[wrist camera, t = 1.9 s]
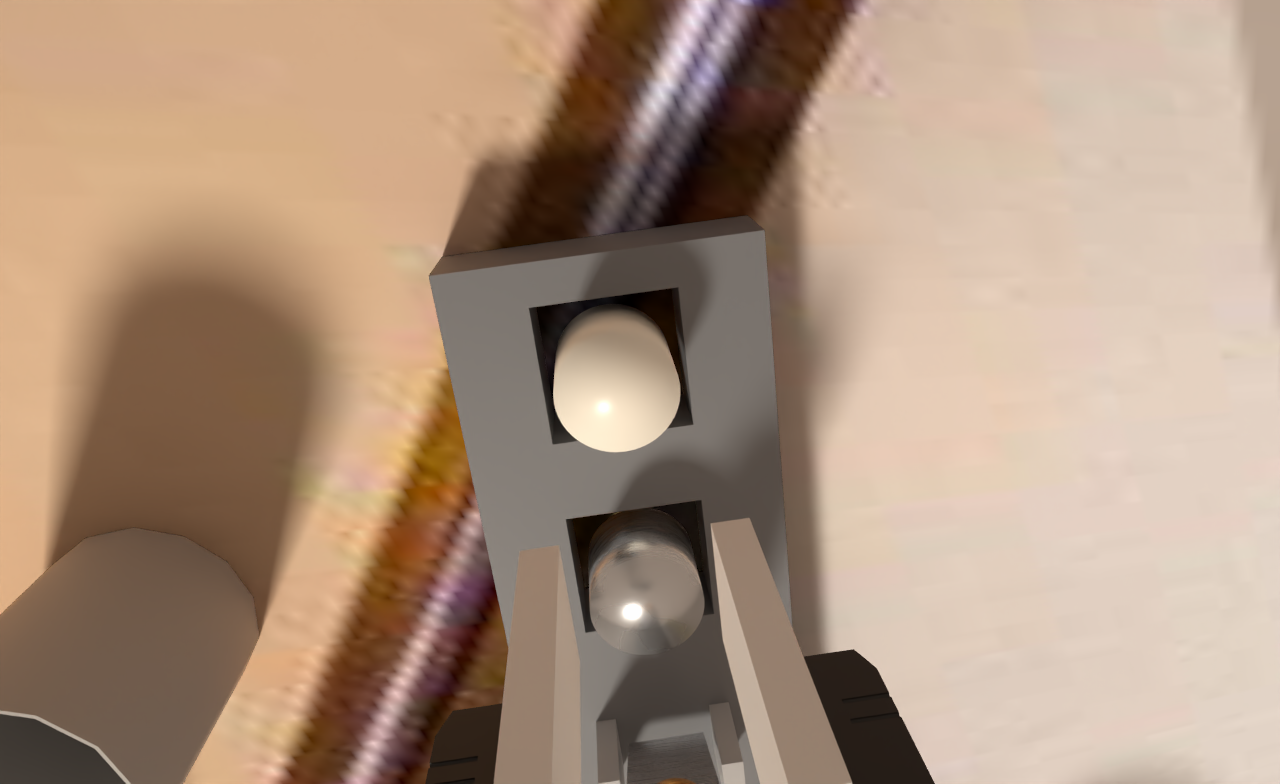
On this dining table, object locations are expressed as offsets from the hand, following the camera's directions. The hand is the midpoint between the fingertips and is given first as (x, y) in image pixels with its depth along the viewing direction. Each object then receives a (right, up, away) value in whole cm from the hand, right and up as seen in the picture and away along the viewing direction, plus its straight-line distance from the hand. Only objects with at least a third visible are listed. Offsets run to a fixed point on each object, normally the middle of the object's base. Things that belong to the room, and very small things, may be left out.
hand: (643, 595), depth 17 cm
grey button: (0, -2, +16) cm, 17 cm away
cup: (-20, -5, +18) cm, 28 cm away
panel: (0, -4, +19) cm, 20 cm away
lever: (+1, -10, +17) cm, 20 cm away
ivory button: (-1, +5, +14) cm, 15 cm away
